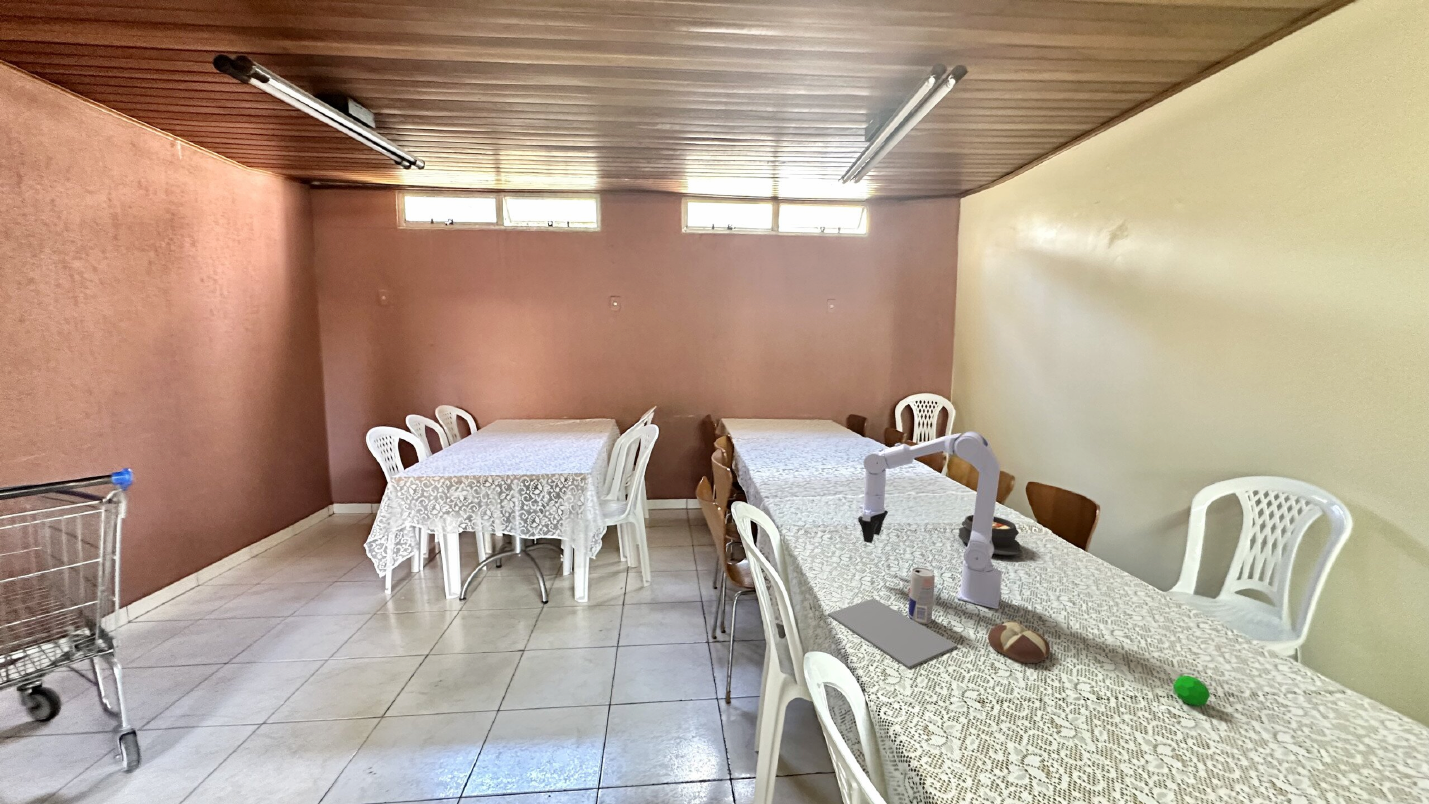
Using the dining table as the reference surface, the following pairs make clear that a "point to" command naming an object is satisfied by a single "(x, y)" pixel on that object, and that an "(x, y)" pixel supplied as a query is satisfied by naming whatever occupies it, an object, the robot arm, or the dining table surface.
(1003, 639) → the bread
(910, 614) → the energy drink
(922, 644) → the mat
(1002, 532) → the casserole
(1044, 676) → the dining table surface
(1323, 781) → the dining table surface
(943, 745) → the dining table surface
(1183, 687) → the polyhedron
